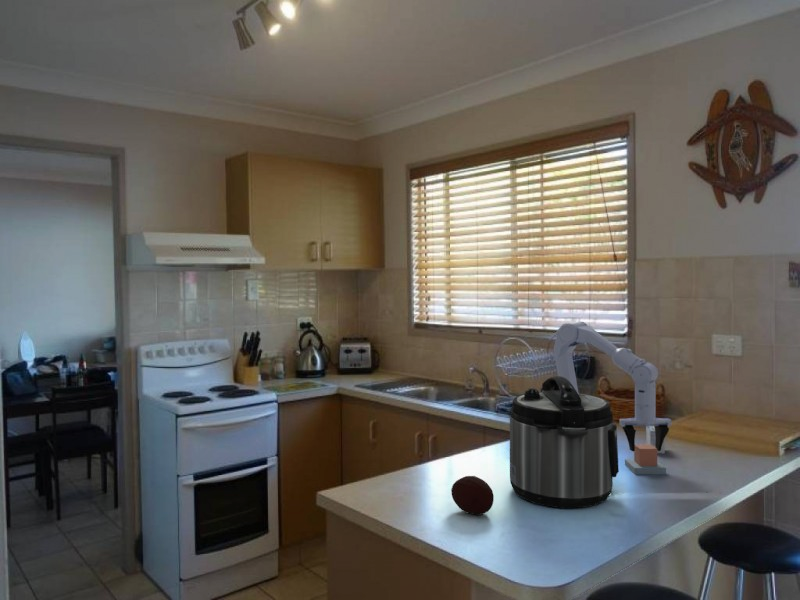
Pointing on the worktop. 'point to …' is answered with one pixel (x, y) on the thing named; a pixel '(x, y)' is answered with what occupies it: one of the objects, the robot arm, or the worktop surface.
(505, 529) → the worktop surface
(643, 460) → the red cube
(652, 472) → the top block
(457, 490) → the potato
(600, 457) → the pressure cooker
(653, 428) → the medicine box
